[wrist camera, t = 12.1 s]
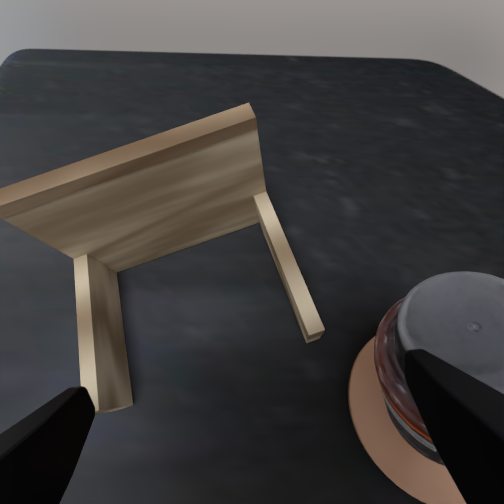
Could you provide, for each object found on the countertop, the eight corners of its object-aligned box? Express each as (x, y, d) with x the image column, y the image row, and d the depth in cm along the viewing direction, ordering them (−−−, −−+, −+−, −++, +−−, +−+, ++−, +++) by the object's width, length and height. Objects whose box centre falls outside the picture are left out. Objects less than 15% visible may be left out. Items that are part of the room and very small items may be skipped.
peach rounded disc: (516, 543, 15) (530, 554, 14) (328, 453, 18) (330, 457, 17) (527, 356, 19) (539, 355, 18) (368, 303, 21) (371, 300, 20)
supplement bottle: (455, 338, 18) (495, 217, 10) (543, 447, 14) (729, 390, 6) (365, 375, 19) (335, 289, 11) (425, 489, 15) (449, 489, 7)
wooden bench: (319, 338, 21) (342, 301, 11) (119, 409, 21) (-38, 436, 11) (265, 208, 26) (248, 102, 16) (104, 265, 26) (-14, 193, 16)
